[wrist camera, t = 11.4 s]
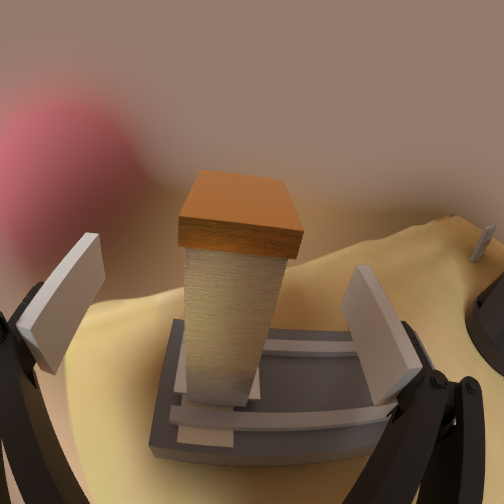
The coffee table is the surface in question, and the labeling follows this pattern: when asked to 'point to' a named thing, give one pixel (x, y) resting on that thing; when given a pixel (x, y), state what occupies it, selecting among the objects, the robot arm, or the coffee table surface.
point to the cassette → (482, 243)
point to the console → (276, 407)
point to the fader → (231, 281)
